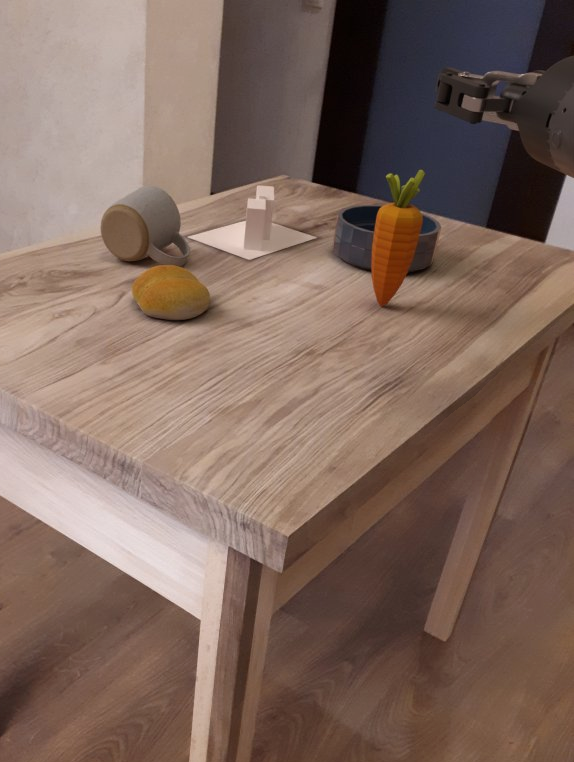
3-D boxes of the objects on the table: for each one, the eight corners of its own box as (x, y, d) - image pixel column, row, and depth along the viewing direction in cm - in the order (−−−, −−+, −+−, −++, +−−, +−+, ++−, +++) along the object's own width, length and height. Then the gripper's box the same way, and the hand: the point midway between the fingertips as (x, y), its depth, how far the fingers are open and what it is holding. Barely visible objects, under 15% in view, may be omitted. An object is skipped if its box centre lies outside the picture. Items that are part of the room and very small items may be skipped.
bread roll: (148, 326, 83) (149, 289, 81) (125, 294, 90) (125, 259, 88) (221, 319, 86) (224, 283, 84) (193, 288, 93) (195, 254, 90)
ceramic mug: (95, 257, 99) (95, 193, 94) (129, 239, 105) (131, 179, 100) (170, 277, 96) (174, 212, 91) (200, 258, 102) (205, 196, 97)
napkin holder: (255, 217, 117) (259, 176, 113) (318, 237, 111) (324, 195, 108) (185, 237, 108) (187, 193, 104) (250, 260, 102) (254, 214, 98)
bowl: (386, 237, 113) (394, 201, 110) (453, 268, 104) (462, 230, 101) (312, 247, 107) (317, 209, 104) (375, 281, 98) (383, 241, 95)
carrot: (355, 309, 91) (381, 171, 82) (365, 294, 94) (390, 161, 86) (399, 318, 89) (429, 178, 80) (406, 303, 93) (436, 168, 84)
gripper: (710, 66, 55) (575, 35, 68) (527, 60, 52) (421, 29, 65) (666, 179, 60) (547, 130, 72) (495, 179, 57) (402, 128, 69)
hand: (488, 82), depth 69 cm, fingers open, 8 cm apart
